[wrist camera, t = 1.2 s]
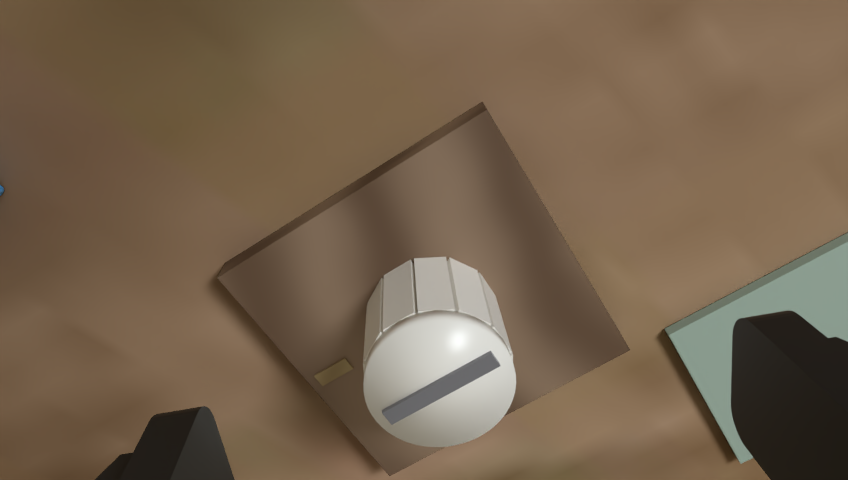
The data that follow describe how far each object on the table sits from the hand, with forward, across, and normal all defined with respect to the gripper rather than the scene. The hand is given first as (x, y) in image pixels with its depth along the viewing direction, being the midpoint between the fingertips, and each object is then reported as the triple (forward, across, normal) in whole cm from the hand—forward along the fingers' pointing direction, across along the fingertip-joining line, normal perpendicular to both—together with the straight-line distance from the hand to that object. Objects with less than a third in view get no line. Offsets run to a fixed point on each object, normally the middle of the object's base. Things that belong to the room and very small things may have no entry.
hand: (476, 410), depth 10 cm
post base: (+21, 0, +8) cm, 22 cm away
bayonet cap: (+19, 0, +9) cm, 21 cm away
